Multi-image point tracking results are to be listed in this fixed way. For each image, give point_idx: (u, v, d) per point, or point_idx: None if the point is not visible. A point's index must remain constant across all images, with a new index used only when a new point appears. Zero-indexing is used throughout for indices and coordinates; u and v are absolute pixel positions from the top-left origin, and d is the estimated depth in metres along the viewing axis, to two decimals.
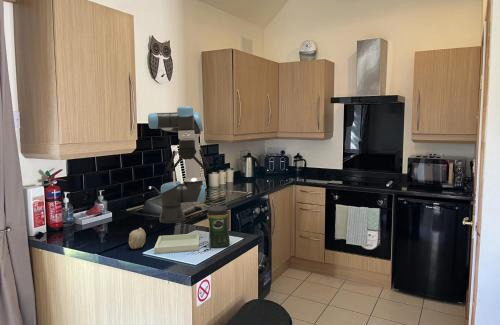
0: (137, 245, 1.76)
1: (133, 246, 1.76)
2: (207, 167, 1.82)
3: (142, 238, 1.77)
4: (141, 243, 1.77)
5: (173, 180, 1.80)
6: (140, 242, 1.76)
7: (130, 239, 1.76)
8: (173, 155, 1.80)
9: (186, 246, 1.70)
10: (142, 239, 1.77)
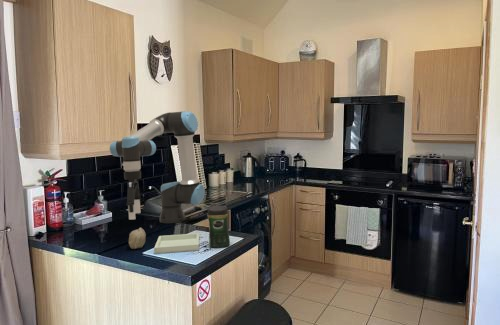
0: (137, 245, 1.76)
1: (133, 246, 1.76)
2: (127, 203, 1.68)
3: (142, 238, 1.77)
4: (141, 243, 1.77)
5: (134, 208, 1.85)
6: (140, 242, 1.76)
7: (130, 239, 1.76)
8: None
9: (186, 246, 1.70)
10: (142, 239, 1.77)
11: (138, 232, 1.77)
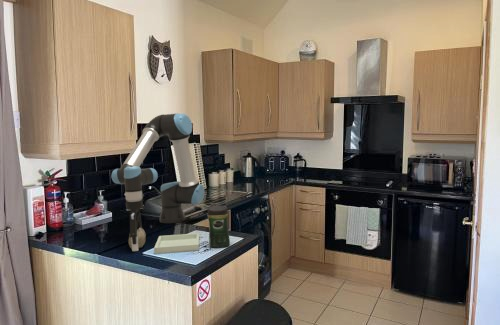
0: None
1: None
2: None
3: (142, 238, 1.77)
4: (141, 243, 1.77)
5: None
6: (140, 242, 1.76)
7: (130, 239, 1.76)
8: None
9: (186, 246, 1.70)
10: (142, 239, 1.77)
11: (138, 232, 1.77)
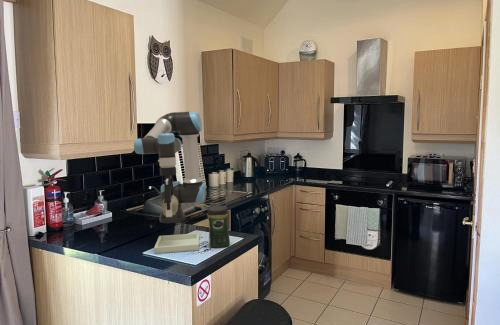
0: None
1: None
2: None
3: (175, 205, 1.77)
4: (174, 210, 1.77)
5: None
6: (173, 209, 1.76)
7: (163, 206, 1.76)
8: None
9: (186, 246, 1.70)
10: (175, 206, 1.77)
11: (171, 199, 1.77)
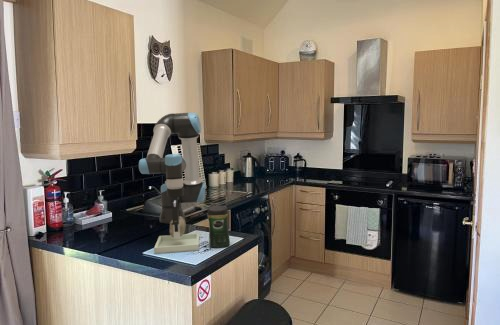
0: None
1: None
2: None
3: (183, 226, 1.76)
4: (182, 231, 1.76)
5: None
6: (181, 231, 1.75)
7: (171, 227, 1.75)
8: None
9: (186, 246, 1.70)
10: (183, 227, 1.76)
11: (179, 220, 1.76)
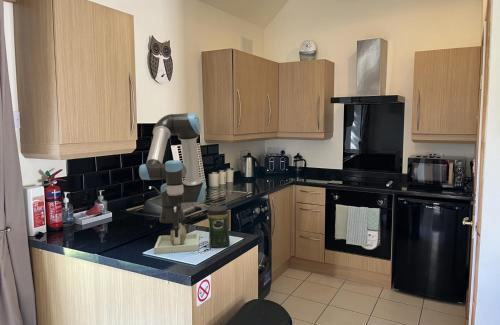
0: None
1: None
2: (173, 228, 1.70)
3: (183, 235, 1.77)
4: (182, 240, 1.77)
5: None
6: (181, 239, 1.76)
7: (172, 236, 1.76)
8: None
9: (186, 246, 1.70)
10: (183, 236, 1.77)
11: (179, 229, 1.77)
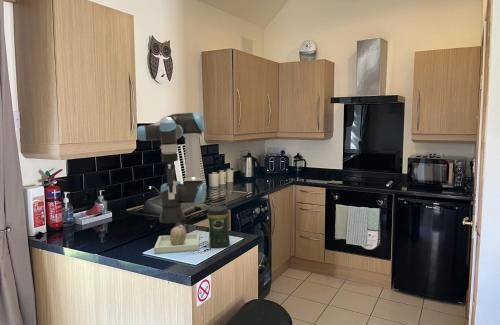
0: (179, 242, 1.76)
1: (175, 243, 1.76)
2: None
3: (183, 235, 1.77)
4: (182, 240, 1.77)
5: None
6: (181, 239, 1.76)
7: (172, 236, 1.76)
8: None
9: (186, 246, 1.70)
10: (183, 236, 1.77)
11: (179, 229, 1.77)
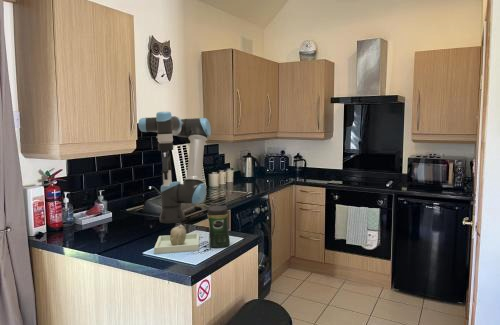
0: (179, 242, 1.76)
1: (175, 243, 1.76)
2: None
3: (183, 235, 1.77)
4: (182, 240, 1.77)
5: None
6: (181, 239, 1.76)
7: (172, 236, 1.76)
8: None
9: (186, 246, 1.70)
10: (183, 236, 1.77)
11: (179, 229, 1.77)
